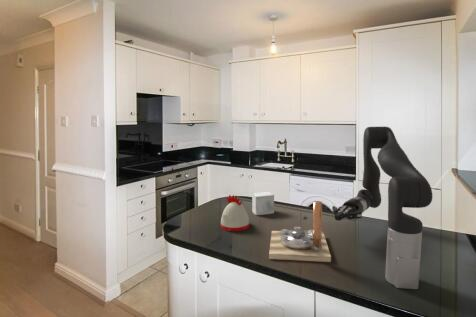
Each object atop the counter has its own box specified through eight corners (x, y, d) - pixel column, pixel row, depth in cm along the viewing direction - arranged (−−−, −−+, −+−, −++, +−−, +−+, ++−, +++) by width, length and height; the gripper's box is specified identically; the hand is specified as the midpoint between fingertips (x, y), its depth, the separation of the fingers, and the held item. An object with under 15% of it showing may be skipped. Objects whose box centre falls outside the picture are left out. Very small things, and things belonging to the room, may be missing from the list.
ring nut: (273, 238, 124) (273, 192, 121) (303, 232, 129) (303, 188, 126) (302, 260, 105) (302, 206, 102) (335, 252, 110) (337, 200, 107)
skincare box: (256, 215, 159) (255, 196, 157) (252, 212, 165) (251, 193, 163) (274, 213, 162) (274, 194, 160) (269, 209, 168) (269, 191, 166)
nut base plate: (330, 262, 108) (331, 256, 108) (269, 258, 111) (269, 253, 111) (323, 237, 129) (323, 232, 129) (271, 235, 133) (271, 230, 133)
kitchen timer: (230, 219, 155) (229, 190, 153) (254, 223, 148) (254, 193, 146) (215, 228, 143) (213, 197, 141) (240, 233, 136) (239, 201, 134)
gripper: (340, 196, 134) (321, 205, 122) (370, 201, 125) (354, 212, 113) (339, 212, 135) (321, 223, 123) (370, 218, 127) (353, 231, 114)
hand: (337, 217), depth 118 cm, fingers closed
